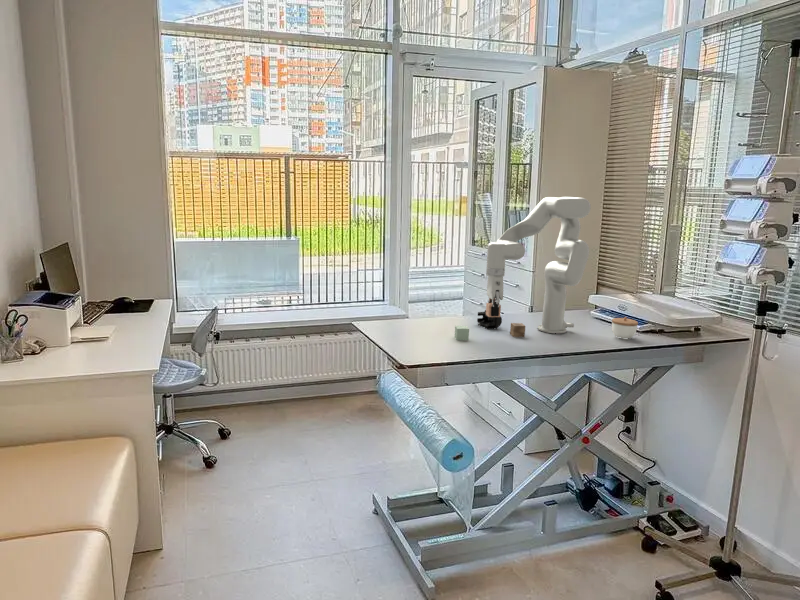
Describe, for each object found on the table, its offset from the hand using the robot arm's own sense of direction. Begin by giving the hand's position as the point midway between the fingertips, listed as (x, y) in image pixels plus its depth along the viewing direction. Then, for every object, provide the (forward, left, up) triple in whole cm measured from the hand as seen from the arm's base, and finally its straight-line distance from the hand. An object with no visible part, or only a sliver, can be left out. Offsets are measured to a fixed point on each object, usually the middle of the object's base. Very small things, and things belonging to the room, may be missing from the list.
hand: (493, 313), depth 252 cm
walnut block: (-12, -4, -10) cm, 17 cm away
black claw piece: (-3, -19, -11) cm, 22 cm away
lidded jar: (-60, -4, -10) cm, 61 cm away
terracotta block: (0, 0, -1) cm, 1 cm away
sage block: (+14, +3, -10) cm, 17 cm away
